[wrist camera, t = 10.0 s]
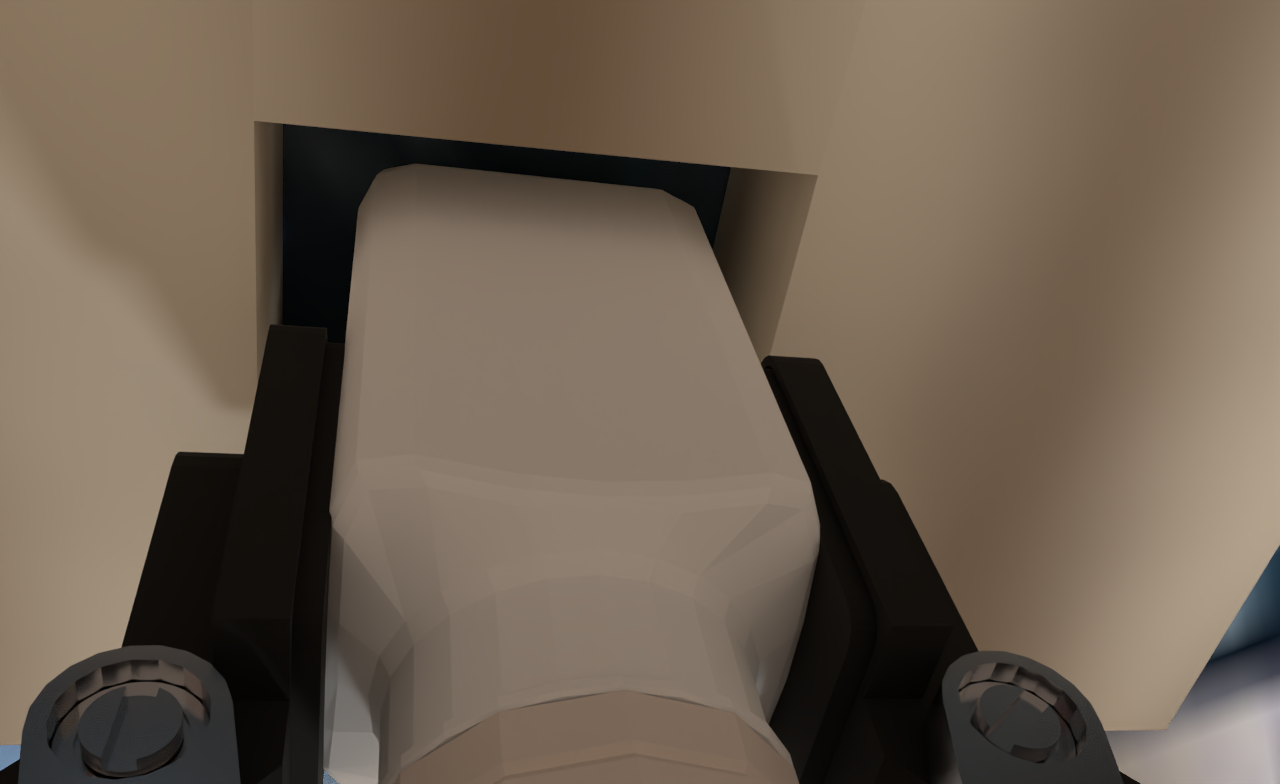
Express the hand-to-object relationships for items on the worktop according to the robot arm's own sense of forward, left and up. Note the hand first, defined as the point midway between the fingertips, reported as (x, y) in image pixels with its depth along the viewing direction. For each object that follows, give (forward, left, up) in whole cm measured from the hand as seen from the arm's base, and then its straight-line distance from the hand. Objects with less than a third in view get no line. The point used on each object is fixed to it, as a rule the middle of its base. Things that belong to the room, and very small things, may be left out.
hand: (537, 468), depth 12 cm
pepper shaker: (0, 0, -3) cm, 3 cm away
